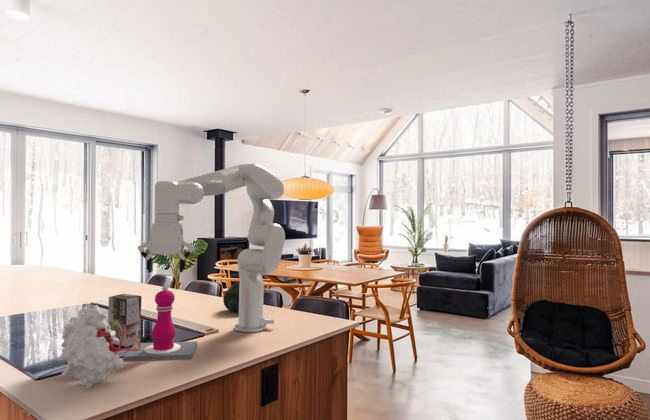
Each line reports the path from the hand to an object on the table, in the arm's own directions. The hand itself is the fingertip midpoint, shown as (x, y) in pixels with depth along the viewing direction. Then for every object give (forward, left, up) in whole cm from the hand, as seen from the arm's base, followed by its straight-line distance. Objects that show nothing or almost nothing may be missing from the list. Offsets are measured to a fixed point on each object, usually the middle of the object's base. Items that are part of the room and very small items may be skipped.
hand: (166, 271), depth 138 cm
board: (0, 0, -26) cm, 26 cm away
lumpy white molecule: (+15, +18, -26) cm, 35 cm away
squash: (-23, -58, -26) cm, 67 cm away
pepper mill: (0, 0, -25) cm, 25 cm away
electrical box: (+15, -12, -26) cm, 33 cm away
